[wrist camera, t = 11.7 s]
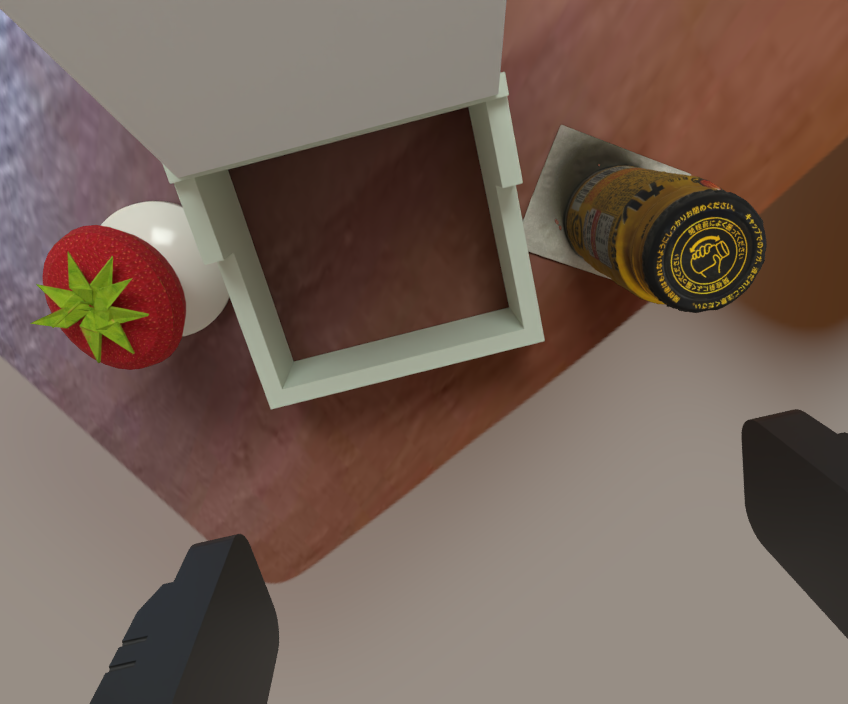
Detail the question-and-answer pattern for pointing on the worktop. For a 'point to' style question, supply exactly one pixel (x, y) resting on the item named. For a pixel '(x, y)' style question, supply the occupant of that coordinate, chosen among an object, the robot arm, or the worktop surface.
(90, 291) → the strawberry
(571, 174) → the condiment
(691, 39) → the worktop surface
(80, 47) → the cold frame
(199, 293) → the cream white rounded part
